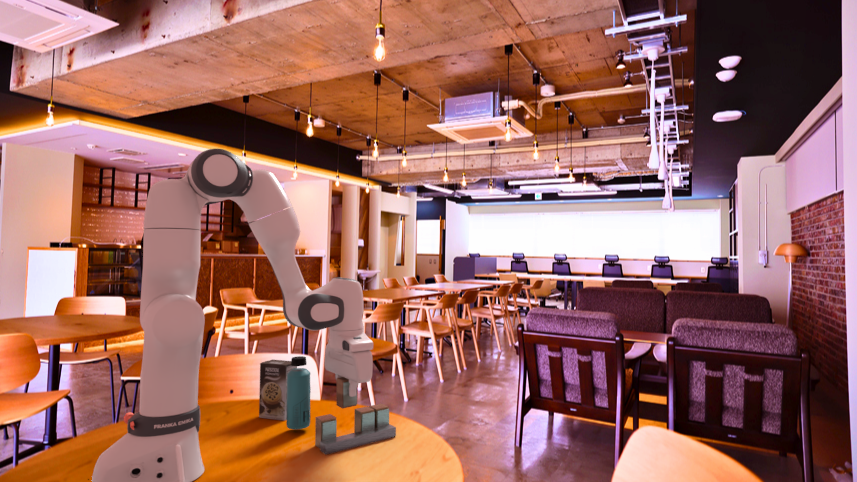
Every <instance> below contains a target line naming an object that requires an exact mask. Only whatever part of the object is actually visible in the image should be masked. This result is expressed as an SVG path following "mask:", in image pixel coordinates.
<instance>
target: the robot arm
mask: <svg viewBox="0 0 857 482" xmlns="http://www.w3.org/2000/svg"><path fill="white" fill-rule="evenodd" d="M226 200H231V201H233V202H234V203H236V204H237V205H238V207H239V208H240V209H241V211H242V212H243V214H244V217H245V219H246V221H247V223H248V226H249V228H250V230H251V231H252V234H253V235H254V237H255V239H256V241H257V242H258V244H259V246H260V247H261V249H262V251H263V252H264V254H265V255H266V257H267V259H268V261H269V263H270V266H271V268H272V271H273V274H274V275H275V278H276V280H277V283H278V286H279V288H280V290H281V295H282V311H283V316H284V318H285V320H286V321H287V322H288V323H289V324H290V325H291V326H293V327H295V328H303V329H305V330H309V331H320V330H324V329H328V328H329V330H328V331H329V332H328V334H329V339H328V342H327V344H326V346H325V350H324V364H323V365H324V368H325V370H326V371H327V372H330V373H333V374H335V375H334V377H335V380H336V382H337V378H340V377H345V378H347V379H349V383H350V386H349V389H347V392H348V393H347V395H348V396H350V397H353V396H356V389H357V390H358V386H359V384H363V383H368V382H371V380H372V377H373V365H374V364H373V352H372V350H374V342H373V340H372V339H371V338H369V337H368V335H367V334H366V333H365V328H364V327H365V326H364V323H363V315H364V304H365V303H364V294H363V293H364V292H363V287H362V284H361V283H360V281H358V280H357V279H354V278H353V279H352V278H348V277H340V276H337V277H332V279H331V280H329V281H328V282H327V283H326V284H323V285H322V286H321V287H318V288H316V289H315V288H314V289H313V290H312V289H310V288H309V287H308V285H307V284H306V283H305V279H304V277H303V274H302V271H301V269H300V267H299V264H298V261H297V259H296V245H297V243H298V240H299V237H300V235H301V230H300V223H299V219H298V216H297V214H296V212H295V209H294V207H293V205H292V203H291V201H290V198H289V196H288V194H287V193H286V191H285V189H284V187H283V185H282V184H281V183H280V181H279V180H278V178H277V177H276V175H275V174H274V173H272V171H270V170H266V169H254V170H253V169H252V167H250V166H249V165H247V164H246V163H245V162H243V161H242V160H241V159H240V158H239V157H238V156H236V155H235V154H234V153H233V152H231V151H229V150H226V149H222V148H210V149H207V150H204V151H202V152H200V153H199V154H198V155H197V156H195V158H194V159H193V161H192V162H191V163H190V164H189V166H188V169H187V170H186V173H185V175H184V176H183V177H182V178H178V179H177V178H176V179H174V178H170V179H169V178H167V179H161V180H158V181H157V182H155V183H154V184H152V185H151V187H150V188H149V191H148V194H147V197H146V202H145V209H144V210H145V211H144V216H143V217H144V219H143V240H142V241H143V242H142V243H143V247H142V248H143V249H142V252H143V253H142V256H143V257H142V275H141V276H142V277H141V289H140V291H141V292H140V307H139V308H140V309H139V323H140V326H141V328H142V330H143V334H144V335H143V347H142V348H143V349H142V361H141V370H140V377H139V378H140V379H139V380H140V382H139V383H140V384H139V411H137V413H133V412H131V411H130V412H126V413H125V415H124V416H123V422H124V423H125V424H126V425H127V433H126V434H124V435H122V437H121V438H119V439H118V440H117V441H115V442H114V443H113V444H112V445H110V447H108V448H107V449H106V450H104V451H103V452H102V453H101V454H100V455H99V457H98V459H96V462H95V465H94V468H93V470H92V471H93V473H92V476H91V477H92V480H91V481H92V482H193V481H195V480H197V479H199V477H201V476H202V475H203V474H204V472H205V465H204V463H203V459H202V455H201V449H200V448H201V447H200V441H199V431H200V428H201V408H200V407H201V406H200V405H199V404H198V403H199V402H198V401H199V398H198V396H199V372H200V371H199V370H200V362H201V357H202V356H201V355H202V351H203V350H202V349H203V348H202V347H203V341H204V340H203V339H204V330H205V322H206V320H205V319H206V316H205V312H204V310H203V308H202V306H201V305H200V304H199V303H198V301H197V300H196V298H197V287H198V282H199V281H198V280H199V272H200V269H201V246H202V245H201V238H202V237H201V235H202V234H201V232H202V230H201V227H202V225H201V224H202V223H201V221H202V220H201V217H202V213H203V212H202V211H203V208H204V206H208V205H214V204H218V203H220V202H223V201H226Z"/></svg>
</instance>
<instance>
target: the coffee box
mask: <svg viewBox="0 0 857 482" xmlns="http://www.w3.org/2000/svg"><path fill="white" fill-rule="evenodd" d="M259 365H260V366H259V367H260V368H259V395H258V396H259V402H258V403H259V404H258V410H259V411H258V418H261V419H269V420H276V421H287V420H286V419H287V416H286V415H287V410H286V408H287V407H286V406H287V374H288V372H289V371H291V370H292V369H296V368H298V366H291V360H281V359H270V360H265V361H263V362H262V361H261V362H260V363H259Z"/></svg>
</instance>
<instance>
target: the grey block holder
mask: <svg viewBox="0 0 857 482" xmlns="http://www.w3.org/2000/svg"><path fill="white" fill-rule="evenodd" d="M353 425H354V426H353V427H354V428H353V429H354V432H352V433H348V434H344V435H339V436H337V417H336V416H334V415H333V414H331V413H329V414H325V415H324V414H323V415H320V416H315V428H314V429H315V431H314V432H315V435H314V436H315V438H314V439H315V441H314V442H315V445H314V446H315V447H317V448H318V449H319V452H320V453H322V454H324V455H325V456H326V455H330V454H334V453H338V452H341V451H346V450H350V449H353V448H357V447H360V446H361V447H362V446H365V445H368V444H369V445H370V444H373V443H376V442H380V441H384V440H389V439H392V438H395V437H394V436H397V427H396V426H394V425H392V424H390V407H389V405H386V404H384V403H377V404H372V405H368V406H362V407H359V408H355V409H354V424H353ZM391 437H392V438H391Z"/></svg>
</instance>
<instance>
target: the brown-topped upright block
mask: <svg viewBox="0 0 857 482" xmlns="http://www.w3.org/2000/svg"><path fill="white" fill-rule="evenodd" d="M349 386H350V383H349V379H347V378H345V377H340V378H337V381H336V406H338V407H339V408H340V409H346V408H351V407H355V406H357V404H358V388H357V389H356V396H353V397H350V396H348V395H347V393H348V392H347V389H349Z"/></svg>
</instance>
